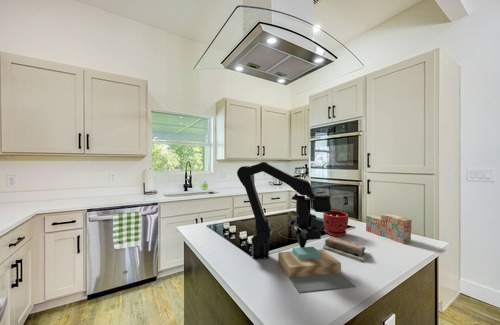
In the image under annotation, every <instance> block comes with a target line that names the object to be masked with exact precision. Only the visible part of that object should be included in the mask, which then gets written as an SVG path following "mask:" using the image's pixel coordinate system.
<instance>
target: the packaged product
mask: <svg viewBox="0 0 500 325" xmlns="http://www.w3.org/2000/svg"><path fill="white" fill-rule="evenodd" d="M322 249H324V250H325V251H329V252H331V253H335V254H338V255H339V256H343V257H345V258H349V259H352V260H354V261H356V262H360V263H363V262H365V261H366V260H367V259H369V258H370V257H371V254H372V253H370V252H367V251H366V247H365V246H362V245H361V244H360V245H359V244H356V243H354V242H353V243H352V242H350V241H347V240H343V239H341V238H338V237H335V236H330V237H327V238H326V239H325V241H324V245H323V246H322Z"/></svg>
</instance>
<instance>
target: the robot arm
mask: <svg viewBox="0 0 500 325" xmlns="http://www.w3.org/2000/svg"><path fill="white" fill-rule="evenodd" d="M262 172H263V173H265V174H267V175H269V176H271V177H273V178H274V179H277V181H278V180H279V181H281V182H282V183H284V184H287V186H289V187H290V188H291V189H292V190H294V191H295V193H294V195H293V196H291V200H293V201H295V211H294V212H293V215H294V216H295V218H294V217H293V218H292V217H291V218H288V220H287V226H288V227H292V226H294V229H292V231H293V233H294V236H295V238H296V241H297V244H298V245H299V248H300V247H306V244H307V242H308V241H311V240H312V241H313V240H321V239H322V233H321V232H320V231H319V230H322V229H323V227H324V220H321V219H320V218H317V216H316V215H315V214H313V213H311V209H312V210H314V212H316V213H330V210H332V209H331V207H332V206H331V199H330V198H331V196H329V195H327V194H325V195H320V194H316V193H315V191H313V189H312V185H311V183H310V181H308V180H307V179H304V178H300V177H297V176H294V175H290V174H289V173H287V172H285V171H283V170H282V169H281V170H280V168H277V167H275V166H273V165H271V164H269V163H268V162H266V161H262V162H260V163H257V164H253V165H250V166H249V165H243V166H240V167H239V168H238V169H237V171H236V175H237V177H238V180H239V181H240V183H241V184H242V186H243V187H244V189H245V191H246V195H247V197H248V201H249V205H250V208H251V211H252V214H253V215H254V220H255V231H256V232H255V233H253V236H252V238H251V239H250V242H251V251H250V253H251V256H252V259H253V260H261V259H269V254H270V253H269V252H270V245H269V242H268V240H269V239H270V238H271V235H272V233H273V228H274V225H273V224H272V220H271V219H272V218H270V217H269V218H267V217H266V215H265V213H264V209H263V207H262V204H261V201H260V200H261V199H260V198H259V193H258V191H257V188H256V186H255V175H256V174H259V173H262ZM298 194H299V195H298ZM317 228H318V229H319V230H317Z"/></svg>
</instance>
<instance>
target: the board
mask: <svg viewBox="0 0 500 325" xmlns="http://www.w3.org/2000/svg"><path fill="white" fill-rule="evenodd" d="M317 250H318V251H319V252H320V253H321V258H317V259H304V260H299V259H298V258H297V257H296V256H295V255H294V254H293V250H292V251H279V252H278V255H277V261H278V262H277V263H278V264H279V265H280V267H281V269H282V270H283V272H284V273H285V274H286V276H287V277H288V279H289V278H293V277H304V276H315V275H325V274H336V273H341V274H342V262H341V261H339V260H338V259H337V258H336V257H334V256H333V255H332V254H330V253H329V252H328V251H327V250H326V249H323V248H322V249H317Z"/></svg>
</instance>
